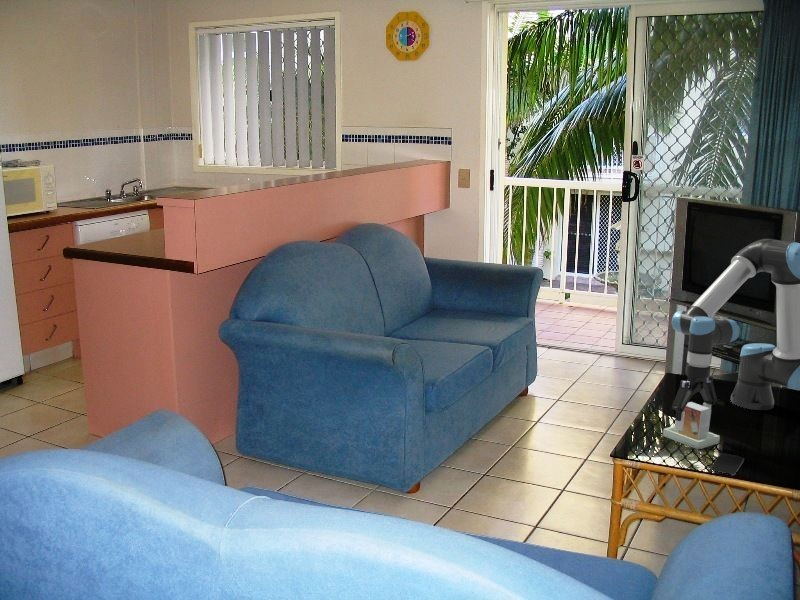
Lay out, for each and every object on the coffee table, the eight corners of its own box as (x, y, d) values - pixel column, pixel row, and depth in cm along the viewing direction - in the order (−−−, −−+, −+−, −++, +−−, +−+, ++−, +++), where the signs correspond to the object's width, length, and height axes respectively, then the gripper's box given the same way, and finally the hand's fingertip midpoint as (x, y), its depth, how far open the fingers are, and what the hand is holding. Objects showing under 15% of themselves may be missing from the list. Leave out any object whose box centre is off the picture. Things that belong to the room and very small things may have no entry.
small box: (677, 433, 290) (680, 403, 288) (688, 430, 293) (691, 401, 291) (697, 441, 284) (700, 410, 281) (708, 438, 287) (711, 408, 285)
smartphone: (709, 469, 263) (720, 452, 275) (709, 472, 263) (720, 455, 276) (734, 475, 259) (744, 457, 272) (734, 478, 260) (744, 461, 272)
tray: (684, 429, 297) (684, 423, 296) (719, 443, 286) (719, 435, 285) (662, 435, 291) (663, 428, 290) (697, 449, 279) (698, 442, 279)
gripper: (712, 356, 293) (706, 416, 297) (664, 366, 279) (658, 429, 283) (732, 361, 287) (725, 422, 291) (683, 372, 273) (677, 436, 277)
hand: (692, 426), depth 287 cm, fingers open, 13 cm apart
